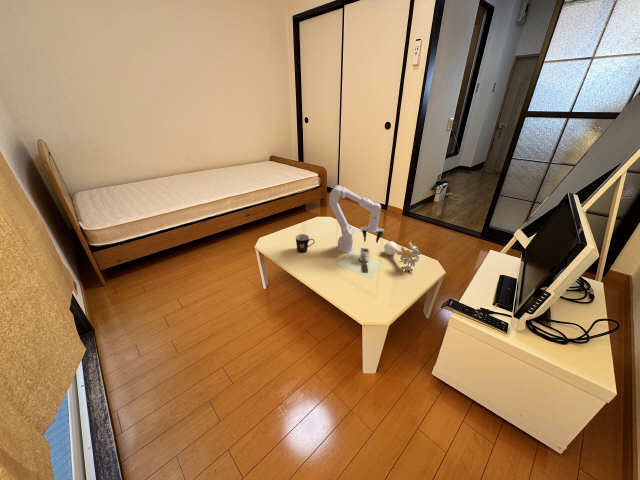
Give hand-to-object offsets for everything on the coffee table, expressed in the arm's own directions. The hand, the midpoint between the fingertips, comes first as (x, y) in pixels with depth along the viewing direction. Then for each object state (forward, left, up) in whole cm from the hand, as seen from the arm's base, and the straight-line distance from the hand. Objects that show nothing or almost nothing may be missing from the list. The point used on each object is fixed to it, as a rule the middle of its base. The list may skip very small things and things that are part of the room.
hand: (370, 241), depth 158 cm
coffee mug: (-36, -23, -10) cm, 44 cm away
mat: (+1, -15, -9) cm, 18 cm away
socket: (+1, -10, -7) cm, 12 cm away
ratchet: (+3, -14, -9) cm, 17 cm away
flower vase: (+19, +3, -10) cm, 22 cm away
